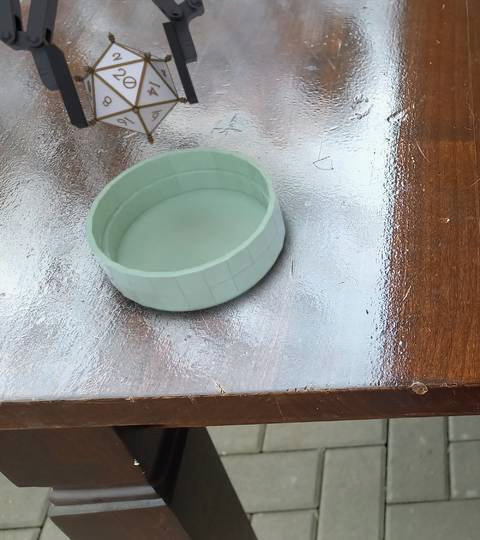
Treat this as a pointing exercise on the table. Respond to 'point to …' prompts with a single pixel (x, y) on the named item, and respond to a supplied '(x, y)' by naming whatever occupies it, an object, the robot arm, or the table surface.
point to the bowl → (187, 228)
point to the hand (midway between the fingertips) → (137, 112)
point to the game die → (130, 89)
